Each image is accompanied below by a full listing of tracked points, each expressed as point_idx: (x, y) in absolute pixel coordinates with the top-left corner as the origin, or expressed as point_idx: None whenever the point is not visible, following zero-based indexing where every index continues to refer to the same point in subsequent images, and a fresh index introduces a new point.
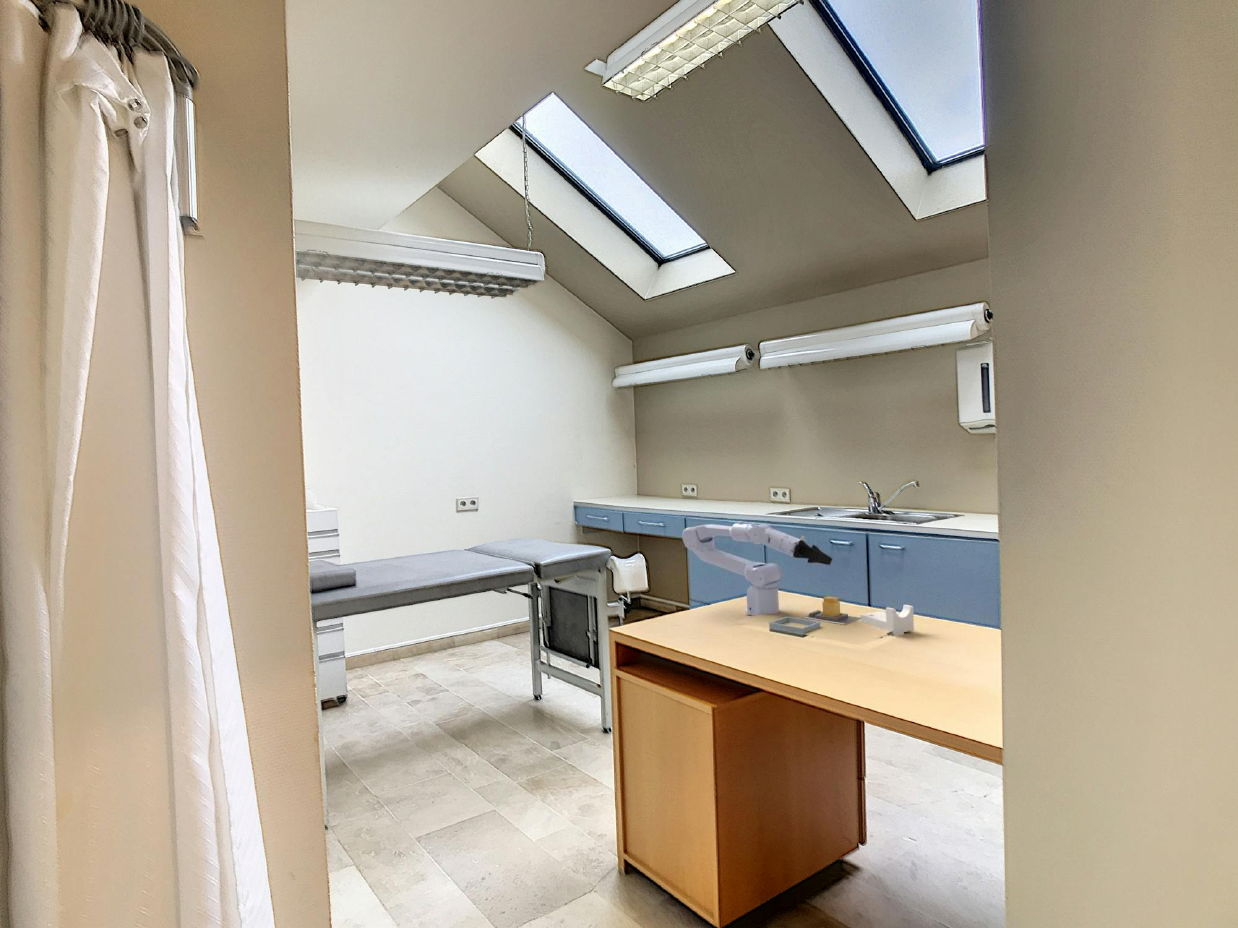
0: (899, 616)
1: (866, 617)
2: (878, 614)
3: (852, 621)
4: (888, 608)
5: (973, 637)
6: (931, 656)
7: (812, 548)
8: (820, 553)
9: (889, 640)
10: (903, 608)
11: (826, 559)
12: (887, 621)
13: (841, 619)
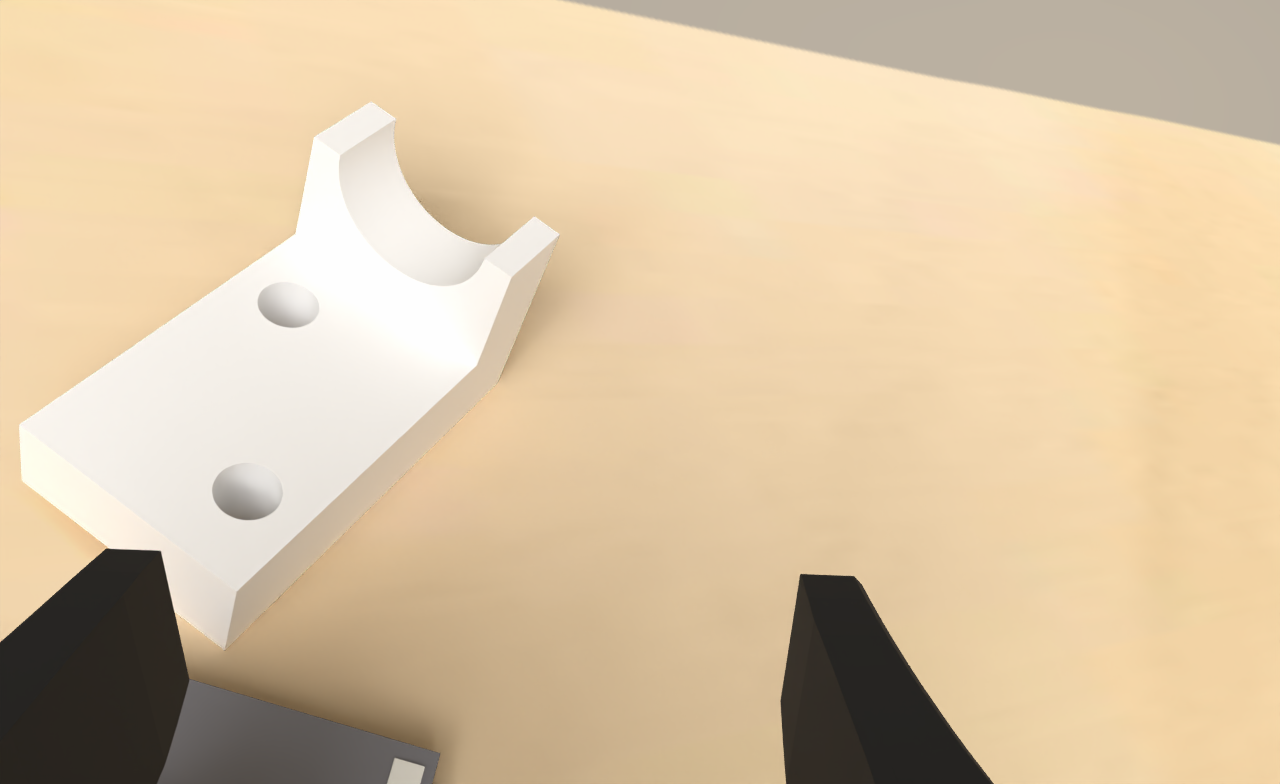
0: (420, 249)
1: (301, 534)
2: (179, 432)
3: (253, 708)
4: (530, 260)
5: (330, 5)
6: (820, 221)
7: (912, 769)
8: (858, 589)
9: (622, 405)
10: (342, 179)
11: (124, 701)
12: (487, 351)
13: None
